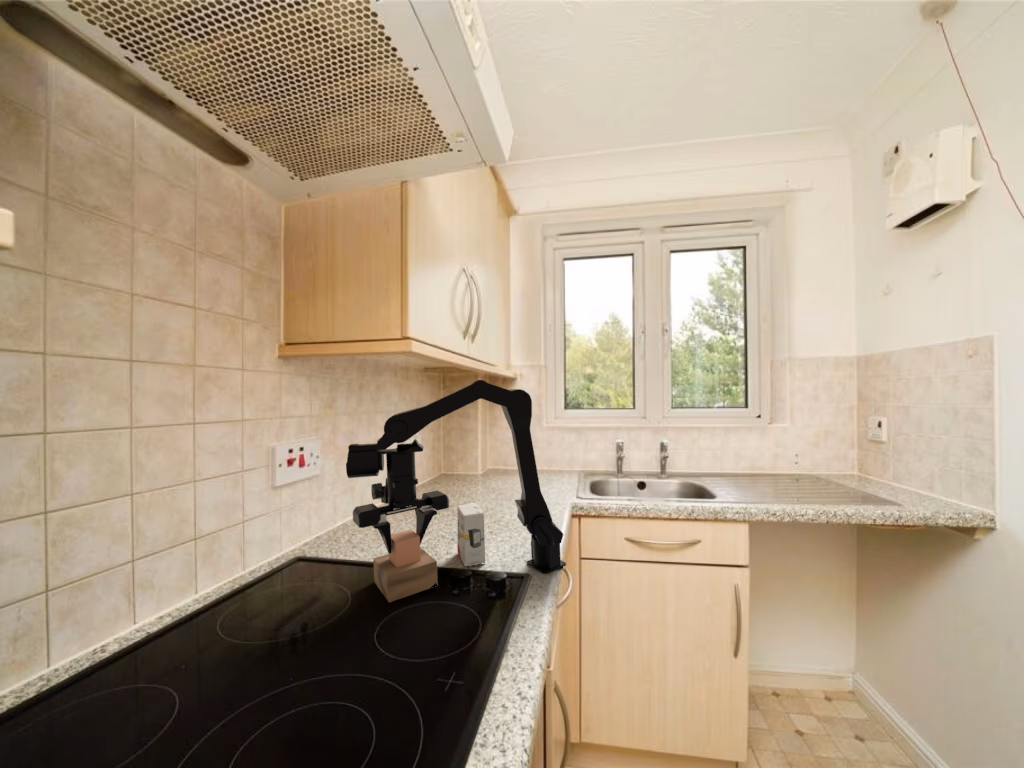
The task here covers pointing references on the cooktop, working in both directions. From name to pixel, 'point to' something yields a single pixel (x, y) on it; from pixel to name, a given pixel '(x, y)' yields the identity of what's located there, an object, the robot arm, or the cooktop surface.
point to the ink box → (471, 534)
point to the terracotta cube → (405, 548)
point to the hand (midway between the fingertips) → (404, 548)
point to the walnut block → (404, 576)
